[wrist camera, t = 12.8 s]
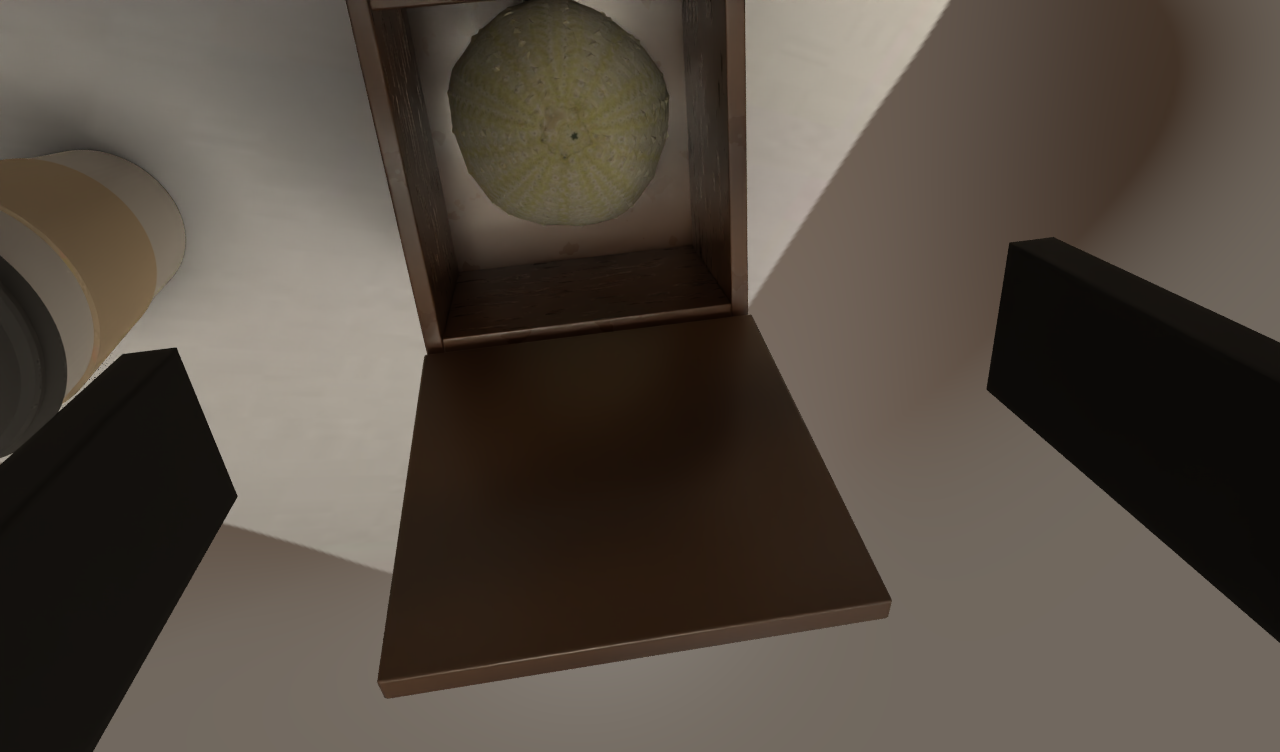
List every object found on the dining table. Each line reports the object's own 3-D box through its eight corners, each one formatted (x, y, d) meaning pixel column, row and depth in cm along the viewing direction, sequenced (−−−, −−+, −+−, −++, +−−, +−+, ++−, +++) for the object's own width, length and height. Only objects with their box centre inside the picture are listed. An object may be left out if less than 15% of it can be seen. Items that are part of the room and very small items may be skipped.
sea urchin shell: (562, -78, 28) (672, 67, 26) (631, 40, 36) (722, 161, 33) (384, 78, 30) (472, 227, 28) (485, 160, 37) (562, 283, 35)
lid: (375, 683, 18) (384, 700, 18) (893, 600, 19) (888, 619, 19) (423, 354, 29) (428, 370, 29) (751, 313, 30) (750, 330, 30)
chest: (387, -11, 31) (342, -12, 23) (693, -36, 32) (745, -46, 24) (448, 282, 37) (427, 357, 29) (703, 252, 38) (748, 317, 30)
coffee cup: (253, 226, 35) (84, 370, 21) (142, 355, 37) (-76, 560, 23) (57, 75, 31) (-296, 136, 18) (-55, 228, 33) (-446, 387, 20)
